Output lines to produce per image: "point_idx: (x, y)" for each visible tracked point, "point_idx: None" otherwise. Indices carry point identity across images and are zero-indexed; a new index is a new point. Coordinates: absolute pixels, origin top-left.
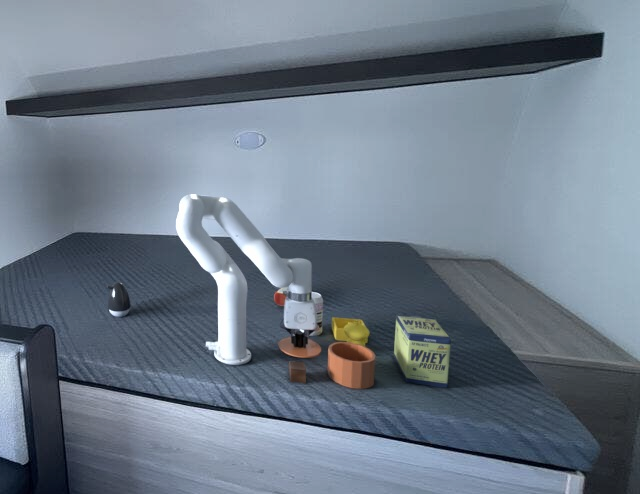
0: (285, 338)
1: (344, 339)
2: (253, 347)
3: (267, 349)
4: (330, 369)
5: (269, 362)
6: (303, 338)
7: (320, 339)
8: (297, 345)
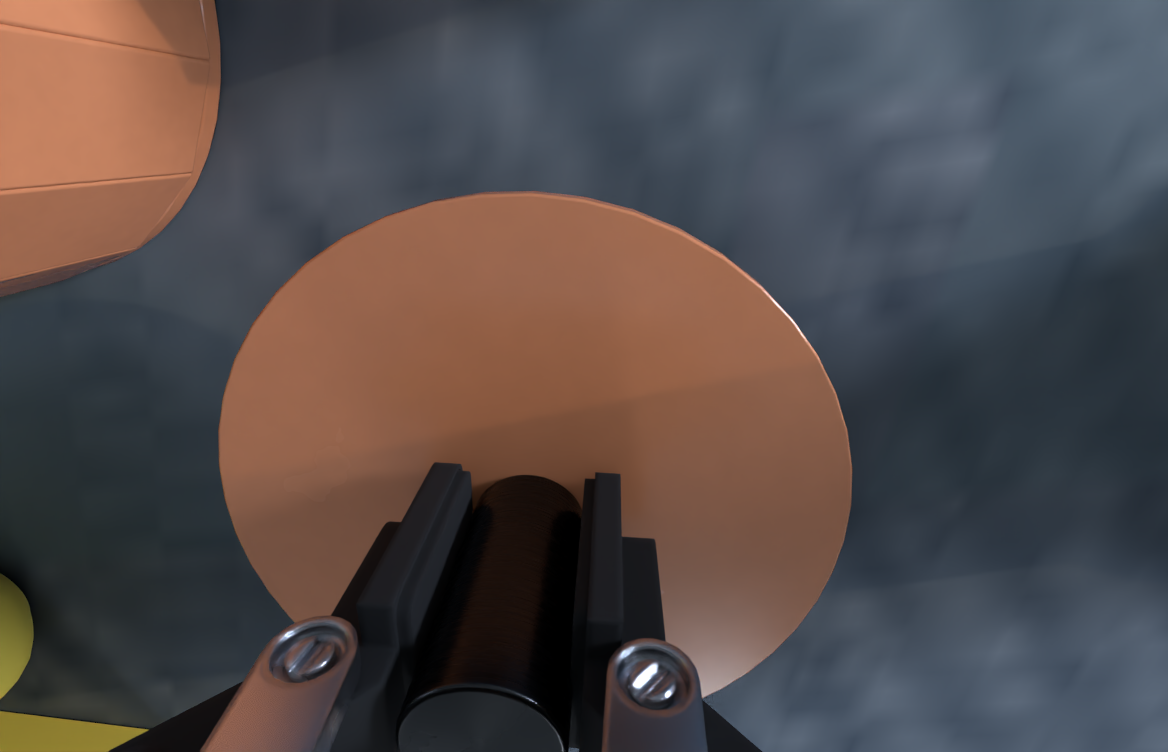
0: None
1: (89, 737)
2: (1063, 572)
3: (899, 544)
4: None
5: (995, 235)
6: (424, 600)
7: None
8: (561, 504)
